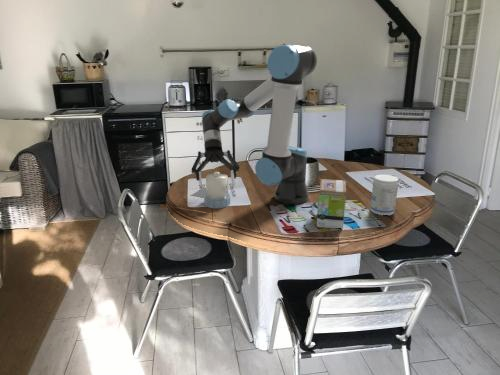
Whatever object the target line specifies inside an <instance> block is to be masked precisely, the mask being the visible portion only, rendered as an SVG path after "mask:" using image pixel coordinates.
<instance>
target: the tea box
mask: <svg viewBox="0 0 500 375" xmlns="http://www.w3.org/2000/svg"><path fill="white" fill-rule="evenodd" d="M319 184H320V185H319V189H318V199H317V211H316V212H317V214H316V227H318V228H325V229H326V228H327V229H335V228H341V229H340V230H342V229H344V220H345V212H346V211H345V210H346V200H347V199H346V198H347V182H346V180H340V179H327V178H325V179H324V178H321V179H320V183H319Z"/></svg>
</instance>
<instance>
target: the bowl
mask: <svg viewBox="0 0 500 375" xmlns="http://www.w3.org/2000/svg"><path fill="white" fill-rule="evenodd" d="M203 203H204V206H205V207H206V208H210V209H223V208H227V207H229V206H230V205H231V194H228V198H226V199H224V200H210V199H208V198H207V195H205V196H204V198H203Z"/></svg>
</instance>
